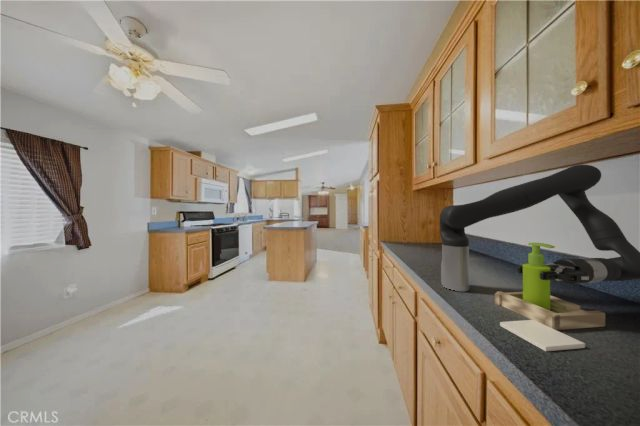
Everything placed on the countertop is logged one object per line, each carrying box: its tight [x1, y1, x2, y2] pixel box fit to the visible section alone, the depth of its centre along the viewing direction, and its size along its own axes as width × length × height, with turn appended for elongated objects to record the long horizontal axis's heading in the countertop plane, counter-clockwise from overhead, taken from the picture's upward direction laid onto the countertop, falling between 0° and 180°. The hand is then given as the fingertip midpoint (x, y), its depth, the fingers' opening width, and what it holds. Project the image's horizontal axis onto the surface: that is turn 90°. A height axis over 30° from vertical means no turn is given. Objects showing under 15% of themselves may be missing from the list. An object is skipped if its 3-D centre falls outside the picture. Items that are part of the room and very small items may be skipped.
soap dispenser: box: [522, 242, 556, 310], centre depth 65 cm, size 6×7×20 cm
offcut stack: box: [550, 294, 585, 313], centre depth 67 cm, size 11×5×4 cm, turn 6°
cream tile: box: [499, 319, 586, 352], centre depth 55 cm, size 11×10×1 cm
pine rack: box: [494, 290, 606, 331], centre depth 66 cm, size 17×16×4 cm
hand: (529, 272), depth 66 cm, fingers closed on soap dispenser, 6 cm apart
